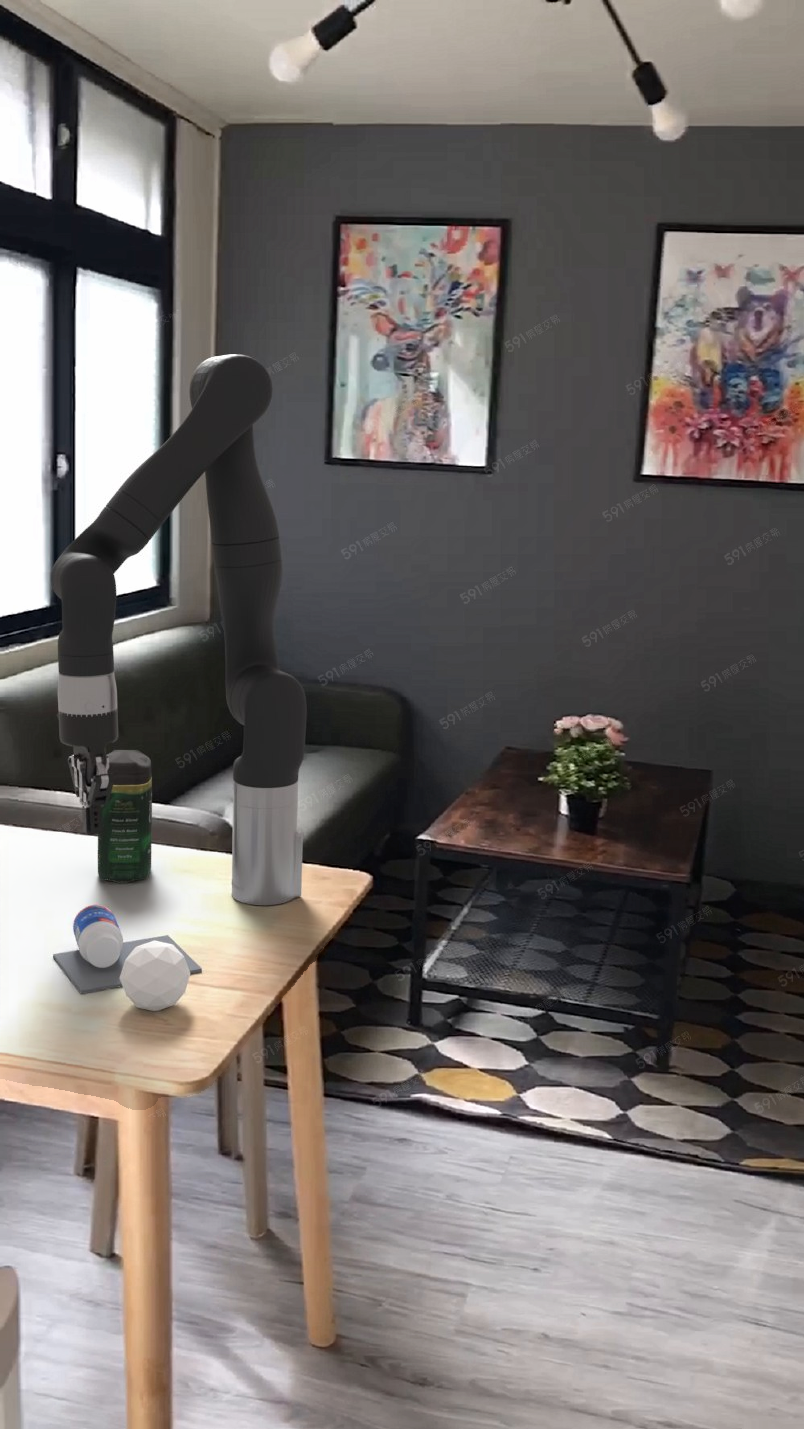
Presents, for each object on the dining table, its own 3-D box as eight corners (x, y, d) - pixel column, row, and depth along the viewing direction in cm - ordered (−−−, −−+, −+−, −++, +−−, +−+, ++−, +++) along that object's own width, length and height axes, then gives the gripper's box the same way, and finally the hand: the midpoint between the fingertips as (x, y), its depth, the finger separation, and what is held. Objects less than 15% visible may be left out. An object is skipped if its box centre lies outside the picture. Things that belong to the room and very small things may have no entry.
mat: (167, 937, 165) (167, 935, 165) (201, 971, 155) (201, 968, 155) (53, 957, 157) (53, 954, 157) (81, 993, 147) (81, 990, 147)
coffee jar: (150, 884, 185) (150, 761, 181) (95, 885, 183) (93, 761, 180) (153, 862, 194) (153, 745, 190) (101, 863, 193) (99, 745, 189)
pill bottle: (114, 900, 161) (126, 928, 152) (116, 940, 162) (128, 969, 153) (70, 906, 159) (80, 934, 150) (72, 946, 160) (83, 976, 151)
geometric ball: (136, 1029, 145) (97, 971, 145) (190, 988, 150) (152, 932, 149) (157, 1021, 139) (117, 961, 139) (213, 979, 143) (174, 921, 143)
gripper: (132, 713, 161) (136, 842, 165) (100, 694, 172) (104, 815, 176) (74, 719, 157) (80, 851, 161) (45, 699, 168) (51, 823, 172)
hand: (93, 832), depth 168 cm, fingers closed
